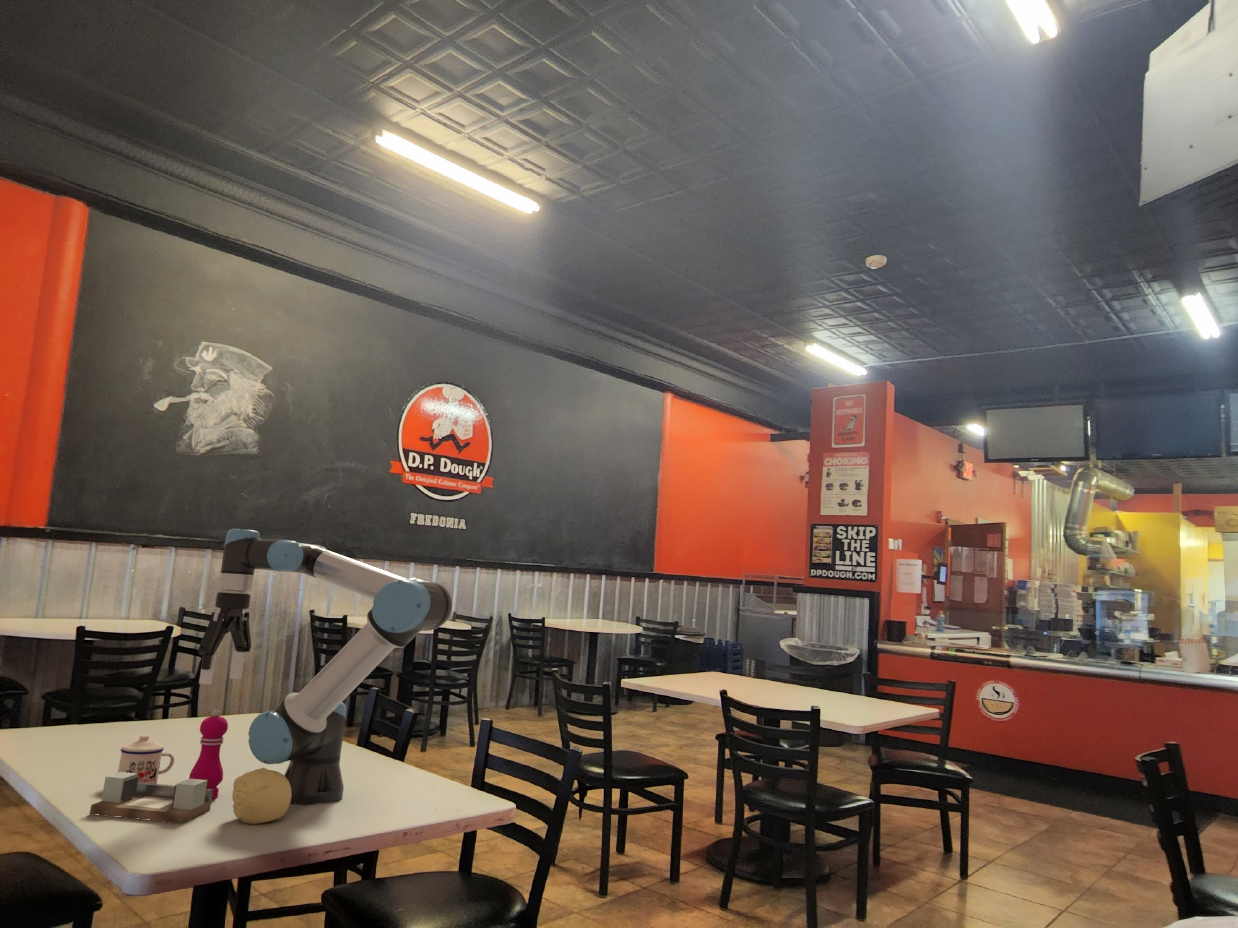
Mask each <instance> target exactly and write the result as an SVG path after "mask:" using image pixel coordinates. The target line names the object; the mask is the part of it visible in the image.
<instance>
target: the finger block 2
mask: <svg viewBox="0 0 1238 928" xmlns="http://www.w3.org/2000/svg"><path fill="white" fill-rule="evenodd" d="M174 786H175V789H174V795H173V801H172V805H173V808H177V809H188V810H192V809H194V808H196V807H198V806H201V805H203V804H204V800H205V793H206V787H207V780H200V779H189V778H188V779H184V780H183V781H180V782H177V783H176V784H175V785H174Z"/></svg>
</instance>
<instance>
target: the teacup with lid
mask: <svg viewBox="0 0 1238 928" xmlns="http://www.w3.org/2000/svg"><path fill="white" fill-rule="evenodd" d="M164 748H165V747H164V746H163V745H162V744H161V743H157V742H155V740H152V739H150V736H149V735H148V734H147V735H146V734H145V735H142V734H141V735H140V736H139V739H137V740H135V741H132V742H131V743H127V744H125V745H123V746H122V747H121V748H120V753H121V754H120V758H119V765H118V768H117V769H118V770H117V773H119V772H127V773H137V774H138V776H137V777H139V778H138V782H142V783H152V784H158V778H159V775H164V774H166V773H168V772H169V771H170V770H171V769H172V768H173V766H174V763H175V757H174V755H173V754H172V753H171V752H163V751H164V750H165V749H164ZM162 757H169V758H170V762H169V764H168V766H166V768H165V769H162V770H160V766H161V760H162Z"/></svg>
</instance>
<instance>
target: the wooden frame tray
mask: <svg viewBox="0 0 1238 928" xmlns="http://www.w3.org/2000/svg"><path fill="white" fill-rule="evenodd" d="M172 801H173V798H163V797H153V796H143V795H136V796H134V797H133V798H131V799H128V800H125V801H123V802H120V803H116V802H106V801H98V802H95V803H92V804H91V805H90V809H89V815H90V814H99V815H105V816H104V817H109V816H121V817H127V818H126V819H129V818H139V819H150V820H155V821H154V822H159V821H165V822H164V823H169V822H171V823H170V824H173V823H174V824H179V823H181V824H183V823H185V822H188V821H190V820H192V819H194V818H197V817H198V816H201V815H202V814H204V813H207V812H208V811H210V810H211V807H212V801H209V802H204V804H203V805H201V806H198V807H196V808H194V809H192V810H188V809H177V808H173V805H172ZM106 815H107V816H106ZM139 819H138V820H139ZM189 819H190V820H189Z"/></svg>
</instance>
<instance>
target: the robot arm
mask: <svg viewBox="0 0 1238 928" xmlns="http://www.w3.org/2000/svg"><path fill="white" fill-rule="evenodd" d="M224 540H225V541H224V544H223V554H222V562H221V569H220V574H219V577H218V581H219V582H218V587H217V589H218V590H219V592H217V593H216V599H215V604H214V606H215V608H217V609H219V612H218V611H215V612H214V611H212V612H211V614H210V619H209V622H208V624H207V626H206V629H205V632H204V633H203V636H202V639H201V641H200V643H199V646H198V649H197V653H198V655H200V656H202V660H201V661H202V662H201V669H200V674H199V680H198V684H199V685H201V684H202V685H213V679H214V672H215V666H216V659H217V655H215V653H216V652H217V651H218V648H219V646H220V645H221V644H222V642H223V639H224V638H225V636H226V634H228V633H229V632H230V635H231V638H232V642H233V646H234V649H235V651H232V657H231V665H230V670H229V671H230V672H229V677H228V678H229V679H234V680H235V679H236V680H241V679H242V677H243V670H244V664H245V657H246V653H249V652H250V651H251V648H252V639H251V629H250V612H249V611H243V610H248V609H249V608H250V602H251V595H250V594H249V593H251V592H252V590H253V583H254V576H255V570H265V571H274V572H275V571H276V572H284V573H285V572H286V573H287V572H288V573H289V572H290V573H298V574H300V573H301V574H304V575H307V576H310V577H313V578H315V579H318V580H321V581H323V582H327V583H330V584H332V585H335V586H337V587H339V588H341V589H345V590H348V591H350V592H353V593H355V594H358V595H361V596H364V597H366V598H369V599H372V600H373V601H372V603H373V604H372V606H371V608H370V610H369V611H368V612H367V615H366V620H367V621H366V623H365V625H363V626H362V628H360V630H358V632H357V633H356V634H354V636H352V638H350V640H349V641H348V642H347V643H346V644H345V645H344V646H343V647H342V648H341V649H340V650H339V651H338V653H336V654H335V655H334V656H333V658H331V660H330V661H328V663H327V664H326V665H325V666H324V667H322V669H321V670H320V671H319V672H318V673H317V674H316V675H315V676H314V677H313V678H311V679H310V681H309V682H308V683H307V684H306V685H305V686H304V687H303V688H302V689H301V690H300V691H299V692H291V693H289V694H287V696H285V698H283V700H281V701H280V702H279V703H278V705H276V706H275V707H274V709H272V710H266V711H264V712H262V713H260V714H258V715H257V716H256V717H255V718H254V719H253V720H252V721H251V723H250V725H249V729H248V745H249V748H250V751H251V753H252V754H253V756H254V757H255V759H257V760H258V761H259V762H261V763H263V764H266V765H281V764H283V763H285V762H289V763H288V766H287V768H286V771H284V772H285V773H284V774H283V775H284V776H285V777H286V778H287V779H288V781H289V783H290V786H291V792H292V796H291V802H290V804H301V805H318V804H326V803H333V802H337V801H339V800H341V799H342V798H343V795H344V783H343V777H342V776H343V775H342V771H341V766H340V764H341V763H340V761H341V754H342V748H343V747H342V745H343V739H344V732H345V726H346V725H345V724H346V720H347V714H346V713H347V706H346V704H345V703H344V702H343V701H344V700H345V699H346V698H347V697H348V696H349V695H350V694H351V693H352V692H353V691H354V690H355V689H356V688H357V687H359V685H360V684H361V683H362V682H363V681H364V680H365V679H366V678H367V677H368V676H369V675H370V674H371V672H373V671H374V670H375V669H376V667H377V666H379V665H380V664H381V662H382V661H383V660H384V659H385V658H386V657H388V655H389V654H390V653H391V652H392V651H393V650H394V649H398V648H399V649H403V648H405V647H406V646H407V645H408V644H409V643H410V642H411V641H412V640H413V639H414V638H415V637H416V636H417V635H418V634H419V633H420V632H426V631H434V630H436V629H438V628H440V627H442V626H443V625H444V624H445V623H447V621H448V620H449V618H450V616H451V614H452V611H453V600H452V596H451V594H450V592H449V591H448V590H447V588H446V587H445V586H443V585H442V584H441V583H437V582H435V581H426V580H424V579H421V578H418V577H412V578H405V577H402V576H400V575H397V574H395V573H391V572H389V571H387V570H386V571H385V570H383V569H381V568H378V567H375V566H372V565H369V564H367V563H364V562H361V561H359V560H355V559H354V558H350V557H348V556H345V555H342V554H339V553H336V552H333V551H331V550H328V549H327V548H326V547H325V546H323V545H318V544H315V543H311V544H310V543H303V542H302V543H301V542H297V541H296V540H289V539H270V538H269V539H268V538H260V532H259V531H258V530H253V529H243V528H241V529H240V528H230V529H229V530H227V533H226V537H225V539H224Z"/></svg>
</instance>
